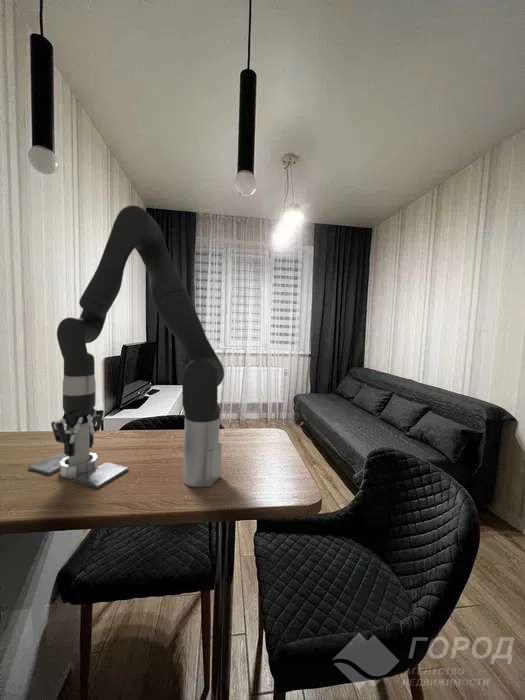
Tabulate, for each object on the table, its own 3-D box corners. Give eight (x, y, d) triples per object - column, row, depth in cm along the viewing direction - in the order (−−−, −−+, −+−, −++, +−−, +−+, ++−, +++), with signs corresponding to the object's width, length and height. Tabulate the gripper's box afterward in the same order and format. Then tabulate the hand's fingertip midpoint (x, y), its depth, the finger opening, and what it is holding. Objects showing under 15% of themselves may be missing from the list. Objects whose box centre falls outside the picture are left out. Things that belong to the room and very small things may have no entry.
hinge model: (128, 470, 79) (128, 459, 78) (97, 488, 69) (97, 477, 69) (64, 454, 86) (64, 444, 86) (28, 469, 77) (28, 458, 76)
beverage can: (64, 466, 77) (64, 423, 76) (83, 459, 81) (83, 418, 80) (75, 470, 74) (74, 427, 73) (93, 463, 79) (93, 422, 78)
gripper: (63, 398, 68) (64, 465, 69) (111, 387, 82) (111, 444, 83) (41, 394, 70) (42, 460, 72) (92, 385, 84) (92, 440, 85)
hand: (79, 451), depth 77 cm, fingers closed on beverage can, 5 cm apart
